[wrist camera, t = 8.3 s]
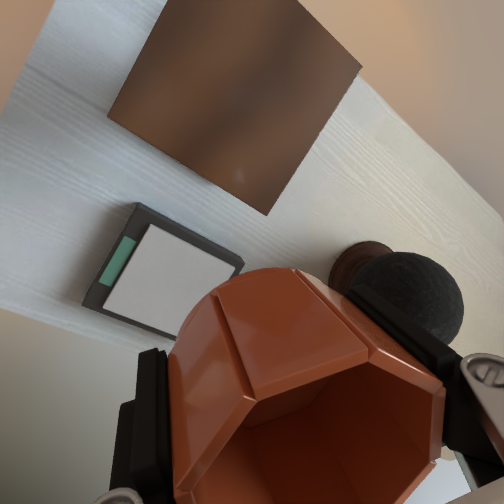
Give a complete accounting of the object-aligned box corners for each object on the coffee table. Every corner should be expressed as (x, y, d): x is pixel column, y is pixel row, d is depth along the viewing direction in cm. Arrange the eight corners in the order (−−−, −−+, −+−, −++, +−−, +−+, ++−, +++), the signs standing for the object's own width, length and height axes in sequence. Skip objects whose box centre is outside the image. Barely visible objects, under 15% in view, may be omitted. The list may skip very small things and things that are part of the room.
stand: (127, 122, 34) (106, 116, 19) (187, 12, 32) (212, -86, 17) (225, 183, 38) (266, 216, 24) (281, 91, 37) (363, 66, 22)
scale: (85, 295, 39) (79, 308, 36) (138, 201, 37) (137, 207, 34) (189, 336, 44) (191, 350, 41) (240, 256, 42) (246, 265, 39)
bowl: (197, 442, 12) (219, 607, 8) (147, 298, 9) (142, 427, 5) (348, 386, 13) (437, 504, 9) (338, 245, 11) (452, 317, 6)
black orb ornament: (317, 320, 49) (378, 393, 35) (328, 235, 45) (403, 282, 31) (391, 311, 52) (473, 375, 39) (409, 233, 48) (508, 273, 34)
